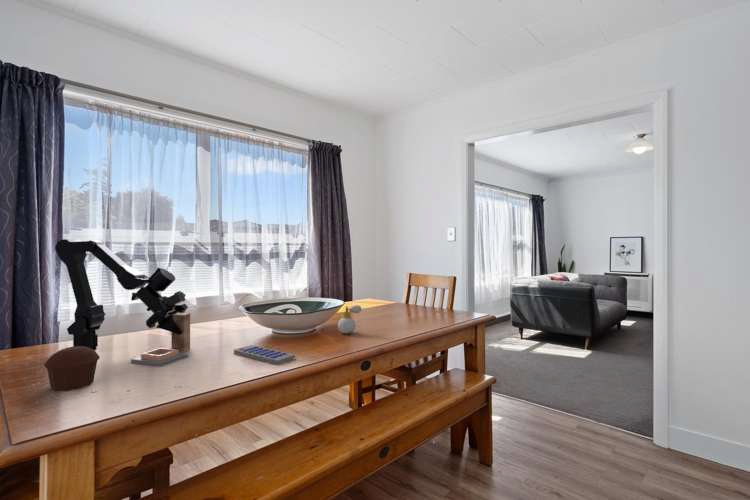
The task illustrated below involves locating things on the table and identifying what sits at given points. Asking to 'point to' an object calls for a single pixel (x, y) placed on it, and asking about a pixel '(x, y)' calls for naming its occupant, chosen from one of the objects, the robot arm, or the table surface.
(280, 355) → the remote control
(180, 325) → the walnut post
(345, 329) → the perfume bottle
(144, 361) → the baseplate
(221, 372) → the table surface
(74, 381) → the muffin
